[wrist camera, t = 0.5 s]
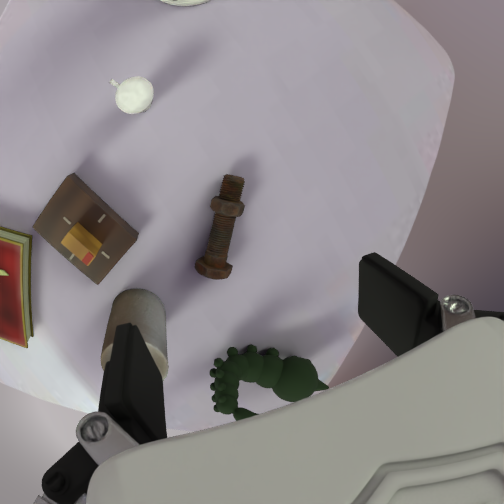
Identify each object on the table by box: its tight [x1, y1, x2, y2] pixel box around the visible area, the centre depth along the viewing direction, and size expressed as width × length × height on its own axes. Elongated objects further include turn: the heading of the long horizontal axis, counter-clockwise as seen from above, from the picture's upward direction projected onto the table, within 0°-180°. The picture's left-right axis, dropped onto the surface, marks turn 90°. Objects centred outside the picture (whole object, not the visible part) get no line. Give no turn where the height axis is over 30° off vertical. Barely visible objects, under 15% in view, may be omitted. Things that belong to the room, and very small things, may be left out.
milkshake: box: [110, 77, 154, 114], centre depth 31 cm, size 4×5×10 cm
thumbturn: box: [61, 222, 102, 266], centre depth 36 cm, size 5×2×5 cm, turn 41°
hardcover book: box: [0, 227, 33, 348], centre depth 36 cm, size 12×21×4 cm, turn 160°
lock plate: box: [33, 173, 139, 285], centre depth 38 cm, size 14×10×3 cm
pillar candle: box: [101, 289, 169, 381], centre depth 41 cm, size 10×10×15 cm
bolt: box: [195, 174, 245, 279], centre depth 43 cm, size 6×5×15 cm
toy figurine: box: [210, 345, 329, 421], centre depth 51 cm, size 9×19×25 cm
